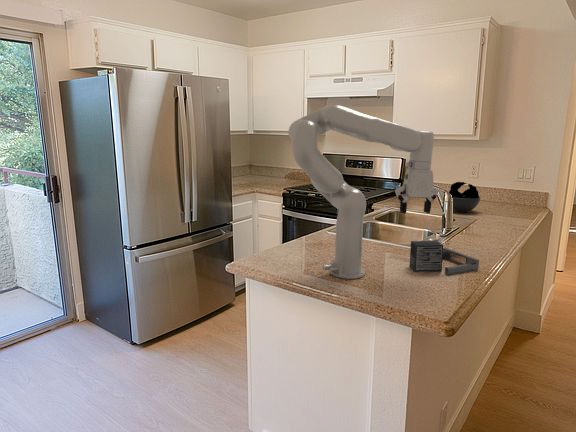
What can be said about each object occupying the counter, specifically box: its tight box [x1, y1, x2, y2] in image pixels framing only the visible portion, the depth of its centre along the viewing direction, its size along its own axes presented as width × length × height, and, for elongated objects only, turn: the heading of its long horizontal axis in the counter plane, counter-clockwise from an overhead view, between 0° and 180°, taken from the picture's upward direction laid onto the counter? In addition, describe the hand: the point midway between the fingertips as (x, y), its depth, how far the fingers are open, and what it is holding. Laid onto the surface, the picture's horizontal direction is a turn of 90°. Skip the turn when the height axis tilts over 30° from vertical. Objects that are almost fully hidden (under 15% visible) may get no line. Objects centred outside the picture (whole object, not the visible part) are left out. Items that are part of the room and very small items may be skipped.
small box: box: [408, 240, 445, 273], centre depth 160 cm, size 11×6×10 cm, turn 93°
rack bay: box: [442, 247, 480, 276], centre depth 165 cm, size 15×17×4 cm
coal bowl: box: [448, 181, 481, 213], centre depth 266 cm, size 20×20×19 cm
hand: (414, 212), depth 155 cm, fingers open, 9 cm apart
